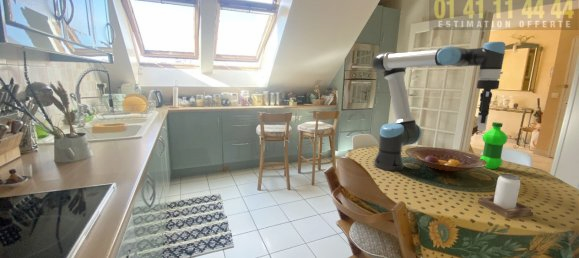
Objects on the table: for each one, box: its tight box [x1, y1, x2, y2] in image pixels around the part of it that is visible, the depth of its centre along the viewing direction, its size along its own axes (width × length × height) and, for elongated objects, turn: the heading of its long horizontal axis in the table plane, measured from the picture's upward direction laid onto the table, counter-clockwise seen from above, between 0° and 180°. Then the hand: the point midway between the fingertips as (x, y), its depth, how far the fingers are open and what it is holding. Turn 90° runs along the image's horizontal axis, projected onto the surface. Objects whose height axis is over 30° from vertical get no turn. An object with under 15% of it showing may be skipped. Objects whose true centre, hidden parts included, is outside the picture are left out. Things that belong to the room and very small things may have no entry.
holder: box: [477, 195, 534, 219], centre depth 97 cm, size 12×12×2 cm
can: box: [494, 173, 521, 210], centre depth 96 cm, size 6×6×12 cm
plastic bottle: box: [479, 121, 508, 170], centre depth 139 cm, size 10×10×25 cm
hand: (480, 128), depth 114 cm, fingers open, 13 cm apart
